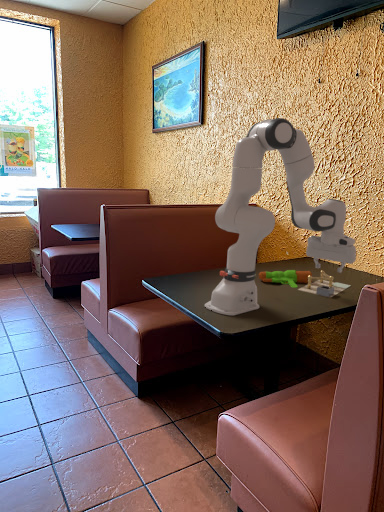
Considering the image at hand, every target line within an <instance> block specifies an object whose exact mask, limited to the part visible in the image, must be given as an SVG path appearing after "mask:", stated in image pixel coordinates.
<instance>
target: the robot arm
mask: <svg viewBox="0 0 384 512" xmlns="http://www.w3.org/2000/svg"><path fill="white" fill-rule="evenodd" d="M276 150H277V151H278V152H279V154H280V156H281V160H282V163H283V167H284V171H285V175H286V176H285V177H286V181H285V182H286V187H287V192H288V197H289V201H290V206H291V211H290V212H291V213H290V214H291V215H290V219H291V223H292V224H293V225H294V227H296V228H298V229H302V230H309V231H312V232H315V233H316V232H321V233H320V236H319V235H318V236H316V235H310V236H309V237H308V238H307V246H306V250H305V251H306V252H305V255H306V256H307V257H308V258H309V257H310V258H313V261H314V264H315V268H316V269H321V263H319V259H321V260H328V261H331V262H332V261H333V262H339V263H340V267H337V268H336V269H337V273H340V274H341V273H342V272H343V268H344V267H345V266H346V264H350V265H351V264H354V263H355V262H356V260H357V259H356V257H357V249H356V246H355V244H356V239H354V238H352V237H351V236H348V235H346V234H345V229H344V226H345V223H346V217H347V207H346V203H345V202H344V201H342V200H339V199H335V198H327V199H326V200H325V201H324V202H323V203H321V204H319V205H317V206H311V205H309V204H308V202H307V200H306V195H305V189H304V183H305V181H307V180H308V179H310V177H311V176H312V175H313V173H314V172H315V160H314V156H313V152H312V150H311V146H310V143H309V141H308V139H307V137H306V135H305V134H304V132H303V131H302V130H301V129H298V128H295V127H294V125H293V124H292V123H291V122H290V121H289V120H288V119H286V118H283V117H282V118H281V117H277V118H268V119H264V120H262V121H258V122H256V123H255V124H253V125H252V126H251V127H250V128H249V130H248V133H247V134H246V136H245V137H241V138H240V139H238V141H237V142H236V144H235V148H234V152H233V157H232V158H233V159H232V166H231V167H232V169H231V170H232V171H231V182H230V188H229V189H230V190H229V193H228V195H227V198H226V200H225V201H224V203H223V204H222V205H220V206H219V207H218V208H217V209H216V212H215V215H214V220H215V224H216V226H217V227H218V228H220V229H221V230H223V231H226V232H227V233H228V232H229V233H235V234H238V239H237V241H236V242H235V243H233V244H232V245H230V246H229V247H228V249H227V255H226V256H227V258H226V267H225V268H224V270H220V271H219V276H220V277H223V278H222V279H221V281H220V282H219V283H218V284H217V286H216V287H215V288H214V289H213V290H212V292H211V298H210V300H209V301H208V302H206V303H204V307H206V308H205V309H207V310H209V311H211V310H212V311H211V312H214V313H217V314H221V315H225V316H236V315H240V314H243V313H247V312H251V311H254V310H258V309H260V304H258V287H257V285H256V281H255V279H256V277H257V273H256V272H257V270H256V262H257V261H256V259H257V254H258V253H257V252H258V248H259V247H260V244H261V243H262V241H263V240H264V239H265V238H266V237H268V235H270V234H271V233H272V232H273V230H274V229H275V225H276V219H275V216H274V213H273V212H272V211H271V210H269V209H266V208H264V207H262V206H251V205H249V203H250V200H251V198H252V197H253V196H254V195H256V194H258V193H259V192H260V191H261V187H262V175H263V160H264V155H265V153H266V152H267V151H269V152H270V151H276Z"/></svg>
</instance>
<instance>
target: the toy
mask: <svg viewBox="0 0 384 512" xmlns="http://www.w3.org/2000/svg"><path fill="white" fill-rule="evenodd" d="M308 276H312V277H313V274H312V272H311V271H310V270H296V269H287V270H285V271H281V270H276V271H275V270H274V271H272V272H271V271H267V270H265V271H260V272H259V273H258V279H259V280H261V282H263V283H279V284H282V285H289V286H290V287H291V288H296V289H298V287H299V286H298V285H297V283H299V284H308ZM311 283H313V280H311Z"/></svg>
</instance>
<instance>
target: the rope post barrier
mask: <svg viewBox="0 0 384 512" xmlns="http://www.w3.org/2000/svg"><path fill="white" fill-rule="evenodd" d="M334 278H335V277H334V276H332V275H328V274H327V273H326V272H325V270H323V269H322V270H320V276H319V277H316V276H313V275H312V276H308V283H307V285H308V286H307V289H311V283H312V282H311V280H312V281H318V280H320V283H323V280H325V281H329V287H332V283H333V282H334V281H333V280H334Z"/></svg>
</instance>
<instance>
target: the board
mask: <svg viewBox="0 0 384 512" xmlns="http://www.w3.org/2000/svg"><path fill="white" fill-rule="evenodd" d="M334 283H335V282H334V281H333V283H332V284H334ZM321 285H325V286H329V280H323V283H320V280H314V281H312V282H311V289H307V286H308V284H306V285H304V286H302V287H300V288H297V291H301V292H306V293H309V294H314V295H317V296H319V295H318V294H316V292H317V287H319V286H321ZM332 287H334V286H332ZM347 289H348V288H346V289H343V288H339V287H334V294H333V295H332V296H330V297H328V298H333V297H334V296H336V295H337V294H340V293H341V292H343V291H344V290H347ZM320 296H321V297H323V296H322V295H320ZM324 297H325V298H327V297H326V296H324Z"/></svg>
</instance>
